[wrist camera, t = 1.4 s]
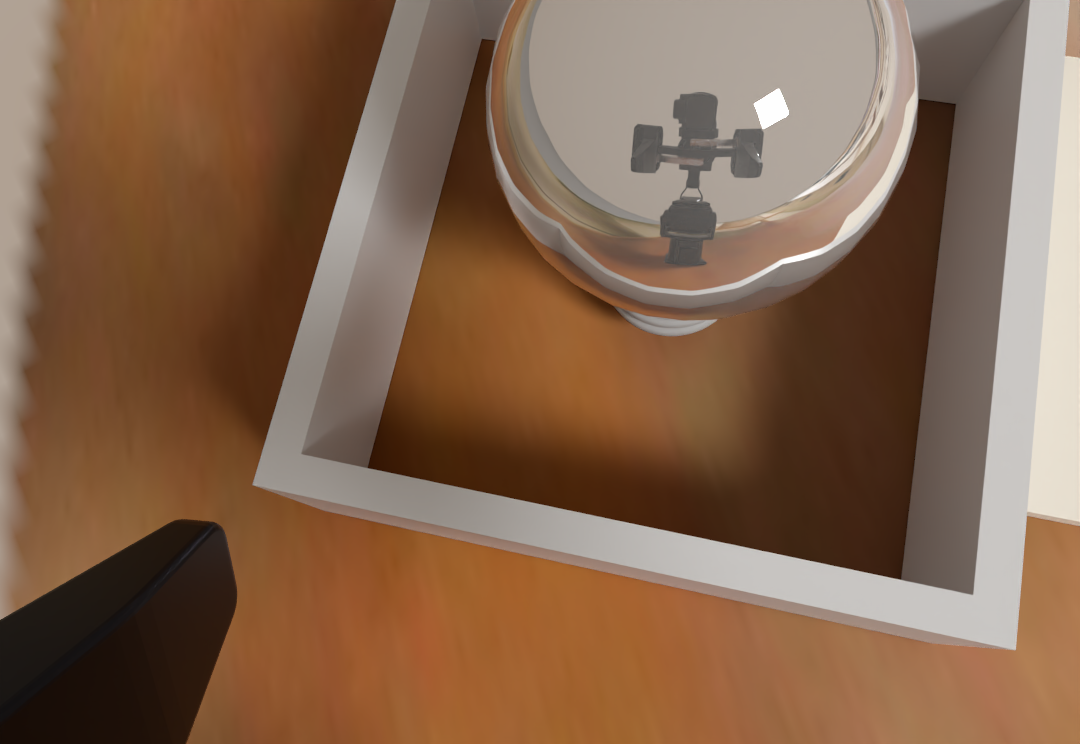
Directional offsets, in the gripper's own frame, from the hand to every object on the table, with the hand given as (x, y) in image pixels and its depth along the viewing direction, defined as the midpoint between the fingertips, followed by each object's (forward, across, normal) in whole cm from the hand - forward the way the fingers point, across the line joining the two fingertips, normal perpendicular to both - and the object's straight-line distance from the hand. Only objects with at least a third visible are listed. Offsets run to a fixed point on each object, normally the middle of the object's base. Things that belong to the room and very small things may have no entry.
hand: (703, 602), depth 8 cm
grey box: (+15, 0, +4) cm, 16 cm away
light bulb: (+15, 0, +4) cm, 16 cm away
